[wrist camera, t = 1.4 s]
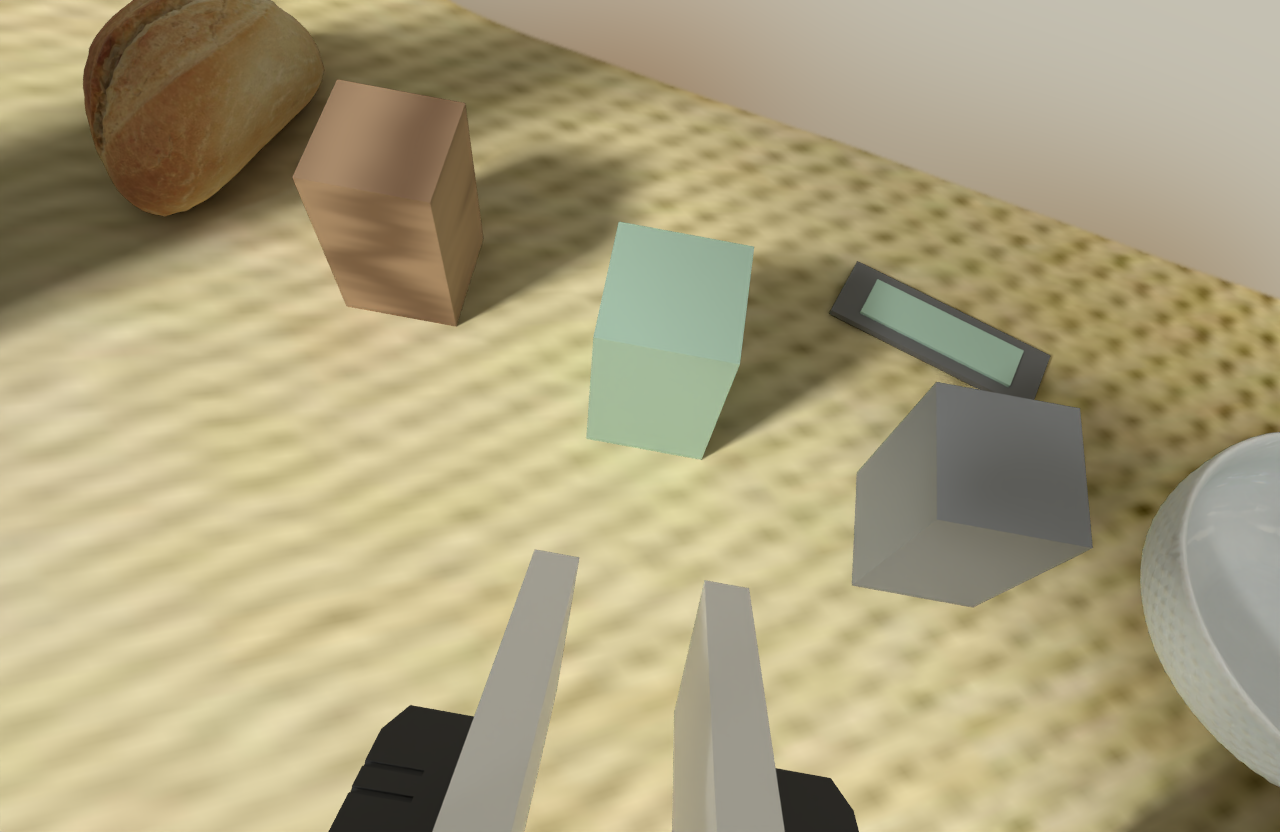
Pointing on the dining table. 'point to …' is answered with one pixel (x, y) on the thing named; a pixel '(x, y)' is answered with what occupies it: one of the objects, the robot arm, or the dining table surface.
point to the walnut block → (394, 200)
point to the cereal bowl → (1222, 597)
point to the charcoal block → (971, 497)
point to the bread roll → (193, 94)
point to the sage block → (667, 339)
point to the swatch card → (939, 334)
